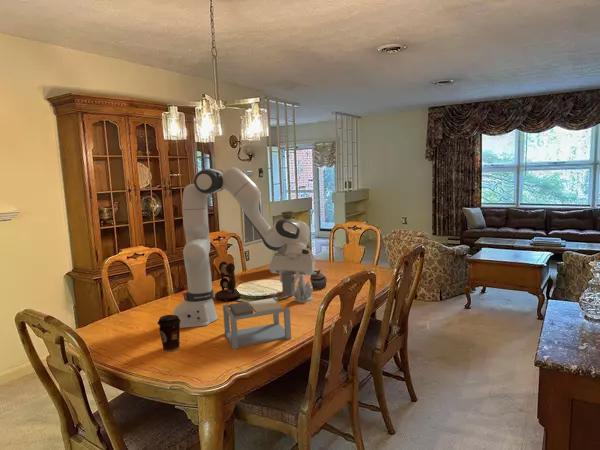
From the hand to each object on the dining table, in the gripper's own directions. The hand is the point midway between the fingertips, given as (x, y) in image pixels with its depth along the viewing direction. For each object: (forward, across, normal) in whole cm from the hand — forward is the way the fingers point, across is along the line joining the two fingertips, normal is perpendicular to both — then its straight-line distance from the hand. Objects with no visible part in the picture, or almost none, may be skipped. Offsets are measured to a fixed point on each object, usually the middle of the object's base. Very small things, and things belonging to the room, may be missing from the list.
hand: (287, 281), depth 178 cm
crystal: (-14, -8, +44) cm, 47 cm away
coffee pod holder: (-9, -50, +39) cm, 64 cm away
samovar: (-57, -38, +88) cm, 112 cm away
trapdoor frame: (+22, -11, +8) cm, 26 cm away
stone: (+4, 0, +4) cm, 6 cm away
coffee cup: (+37, -39, -6) cm, 54 cm away
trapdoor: (+15, -11, 0) cm, 18 cm away
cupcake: (-30, -7, +61) cm, 68 cm away
